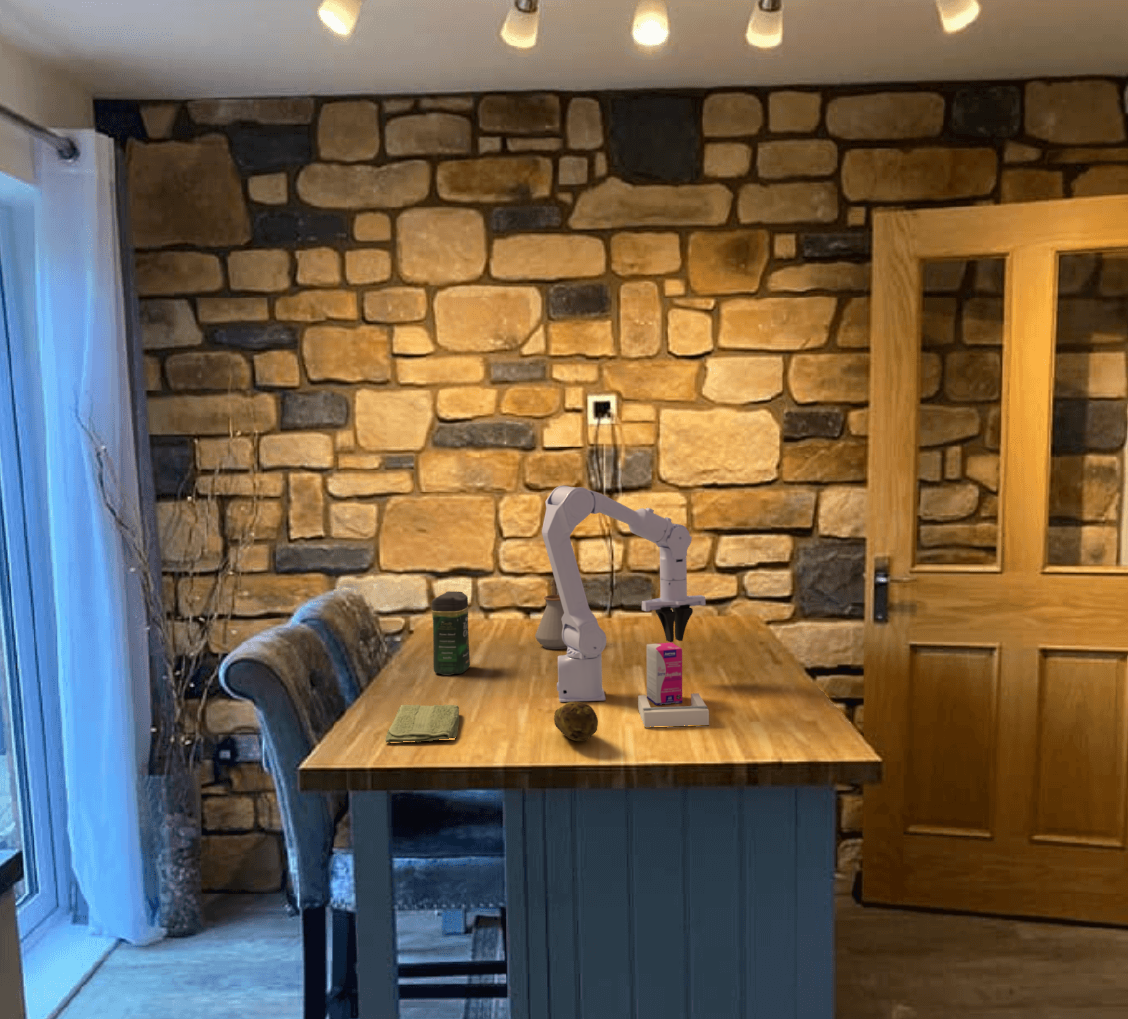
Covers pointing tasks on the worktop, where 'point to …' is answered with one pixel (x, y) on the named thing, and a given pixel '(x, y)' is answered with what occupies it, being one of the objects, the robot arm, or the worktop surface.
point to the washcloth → (424, 723)
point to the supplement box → (664, 673)
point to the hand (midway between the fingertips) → (674, 640)
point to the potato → (576, 720)
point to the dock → (674, 713)
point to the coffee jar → (450, 633)
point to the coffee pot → (551, 622)
